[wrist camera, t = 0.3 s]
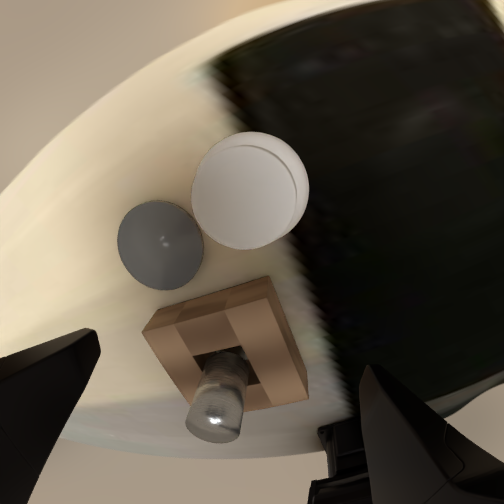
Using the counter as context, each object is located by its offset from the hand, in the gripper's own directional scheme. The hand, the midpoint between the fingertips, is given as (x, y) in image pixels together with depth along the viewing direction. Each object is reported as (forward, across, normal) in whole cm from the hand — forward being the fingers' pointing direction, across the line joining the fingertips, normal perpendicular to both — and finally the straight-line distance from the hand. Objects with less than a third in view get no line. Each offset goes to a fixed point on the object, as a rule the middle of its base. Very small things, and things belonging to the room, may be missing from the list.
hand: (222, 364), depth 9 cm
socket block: (+14, +2, +9) cm, 17 cm away
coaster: (+14, +8, +1) cm, 15 cm away
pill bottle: (+14, 0, -5) cm, 14 cm away
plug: (+10, +1, +9) cm, 14 cm away
